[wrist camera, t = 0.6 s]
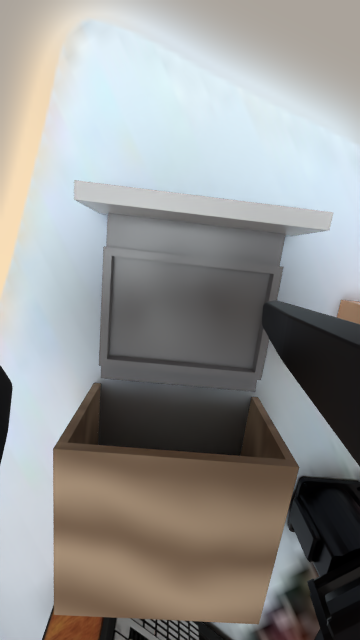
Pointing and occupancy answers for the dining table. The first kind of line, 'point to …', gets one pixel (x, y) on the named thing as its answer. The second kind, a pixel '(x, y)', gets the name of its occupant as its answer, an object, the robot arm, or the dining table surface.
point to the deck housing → (167, 524)
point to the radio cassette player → (124, 629)
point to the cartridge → (349, 311)
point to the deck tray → (189, 283)
